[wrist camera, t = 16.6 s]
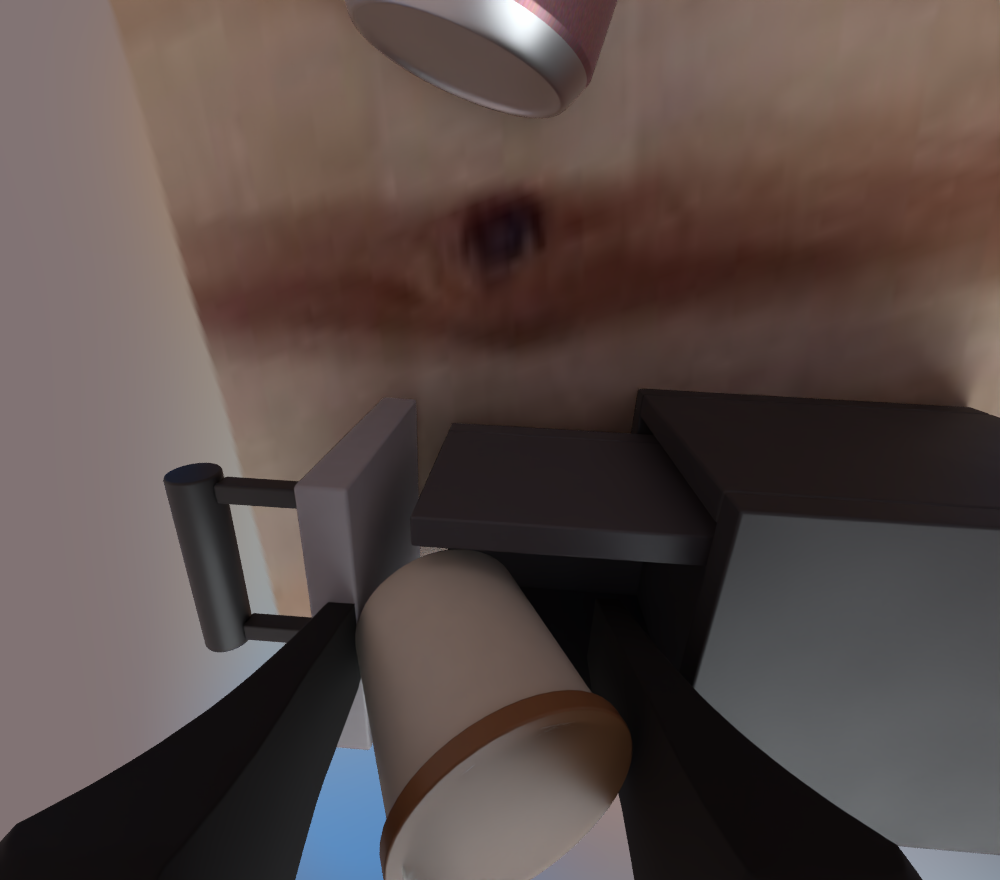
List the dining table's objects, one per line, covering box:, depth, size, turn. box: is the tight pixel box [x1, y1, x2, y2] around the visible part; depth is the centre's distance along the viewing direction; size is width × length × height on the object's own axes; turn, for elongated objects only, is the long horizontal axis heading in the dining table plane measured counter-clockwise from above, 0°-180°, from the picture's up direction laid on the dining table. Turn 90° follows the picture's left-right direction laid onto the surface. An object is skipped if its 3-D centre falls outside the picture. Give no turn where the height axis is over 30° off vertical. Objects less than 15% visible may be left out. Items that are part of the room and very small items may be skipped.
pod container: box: [355, 549, 633, 880], centre depth 10 cm, size 5×5×5 cm
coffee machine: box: [631, 389, 1000, 855], centre depth 14 cm, size 12×10×9 cm
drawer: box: [163, 398, 717, 750], centre depth 15 cm, size 15×8×7 cm, turn 88°
